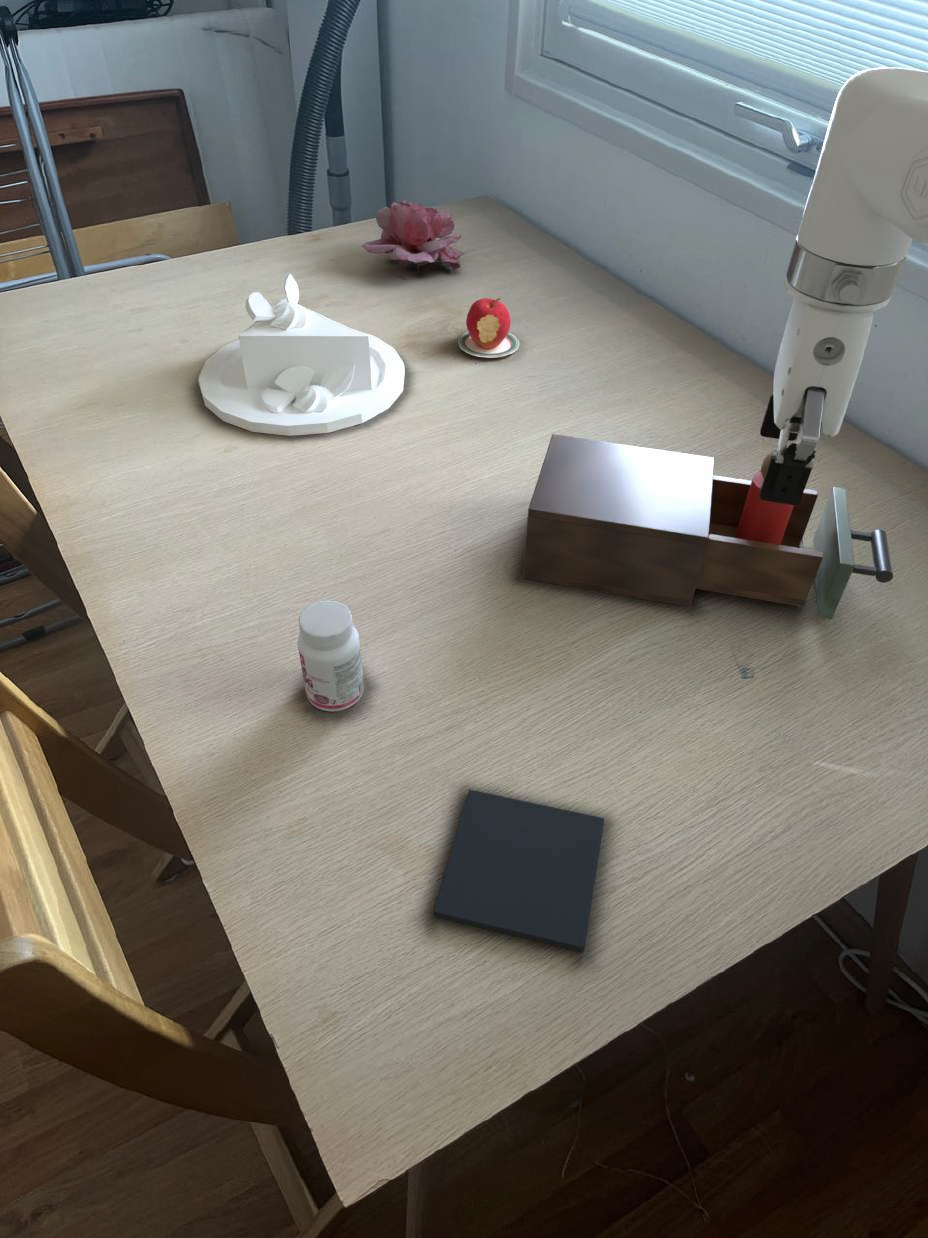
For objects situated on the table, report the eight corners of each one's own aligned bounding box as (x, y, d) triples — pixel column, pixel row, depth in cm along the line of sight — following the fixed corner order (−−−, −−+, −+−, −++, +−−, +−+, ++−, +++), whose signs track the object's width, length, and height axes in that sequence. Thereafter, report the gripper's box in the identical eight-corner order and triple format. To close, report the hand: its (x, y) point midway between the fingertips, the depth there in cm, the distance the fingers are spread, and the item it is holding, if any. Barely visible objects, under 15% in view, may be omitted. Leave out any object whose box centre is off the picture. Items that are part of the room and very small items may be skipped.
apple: (531, 350, 115) (534, 302, 110) (481, 366, 112) (482, 317, 107) (495, 327, 120) (497, 279, 115) (446, 341, 116) (446, 293, 112)
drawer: (870, 548, 85) (893, 495, 81) (881, 628, 77) (908, 574, 73) (675, 517, 88) (688, 465, 84) (667, 591, 80) (680, 537, 76)
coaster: (603, 822, 63) (604, 818, 63) (583, 952, 56) (584, 948, 56) (468, 793, 65) (469, 789, 65) (433, 916, 58) (433, 912, 58)
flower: (427, 280, 123) (431, 202, 119) (346, 270, 130) (347, 196, 126) (484, 277, 134) (489, 205, 130) (407, 267, 141) (409, 199, 137)
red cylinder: (774, 547, 83) (809, 443, 75) (774, 574, 80) (811, 468, 72) (731, 540, 84) (761, 436, 76) (730, 566, 81) (761, 461, 73)
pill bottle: (293, 692, 72) (280, 618, 66) (337, 661, 74) (328, 587, 69) (332, 723, 70) (321, 649, 64) (376, 690, 72) (370, 616, 66)
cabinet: (697, 524, 89) (714, 457, 83) (690, 607, 80) (709, 537, 74) (545, 500, 91) (552, 433, 86) (522, 578, 82) (528, 509, 77)
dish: (159, 410, 103) (136, 318, 95) (266, 321, 120) (253, 237, 112) (350, 453, 97) (342, 359, 89) (433, 353, 114) (433, 266, 106)
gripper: (910, 331, 57) (827, 536, 69) (885, 232, 69) (818, 421, 81) (791, 316, 58) (730, 520, 70) (787, 221, 70) (735, 409, 82)
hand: (777, 467), depth 76 cm, fingers open, 9 cm apart
